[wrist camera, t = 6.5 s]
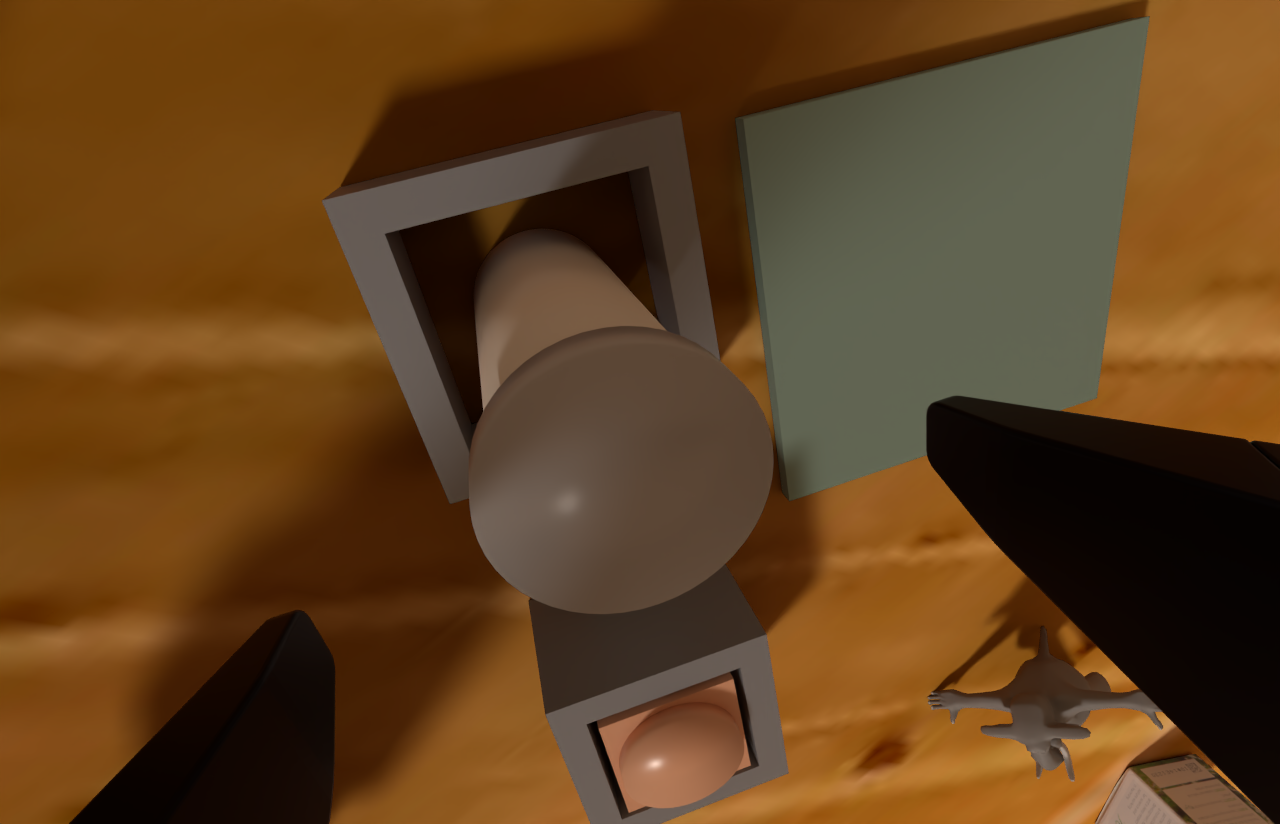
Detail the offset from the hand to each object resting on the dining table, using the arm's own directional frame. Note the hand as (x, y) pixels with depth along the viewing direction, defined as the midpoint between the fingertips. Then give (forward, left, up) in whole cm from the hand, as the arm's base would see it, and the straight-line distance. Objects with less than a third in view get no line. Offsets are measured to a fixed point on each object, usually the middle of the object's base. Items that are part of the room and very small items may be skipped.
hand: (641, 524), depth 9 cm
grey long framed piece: (-7, 0, -12) cm, 13 cm away
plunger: (-14, 0, -11) cm, 18 cm away
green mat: (-3, -13, -12) cm, 18 cm away
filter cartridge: (0, 0, -12) cm, 12 cm away
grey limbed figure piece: (-23, -18, -12) cm, 31 cm away
